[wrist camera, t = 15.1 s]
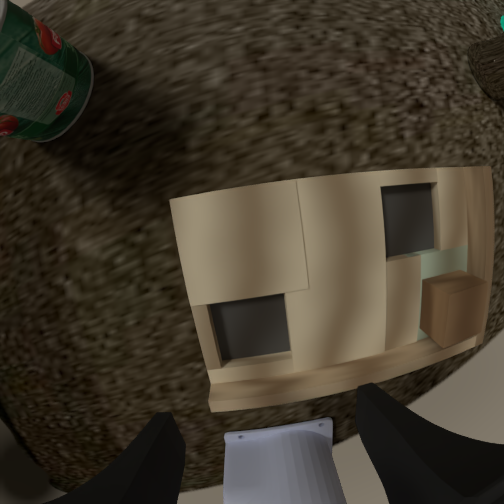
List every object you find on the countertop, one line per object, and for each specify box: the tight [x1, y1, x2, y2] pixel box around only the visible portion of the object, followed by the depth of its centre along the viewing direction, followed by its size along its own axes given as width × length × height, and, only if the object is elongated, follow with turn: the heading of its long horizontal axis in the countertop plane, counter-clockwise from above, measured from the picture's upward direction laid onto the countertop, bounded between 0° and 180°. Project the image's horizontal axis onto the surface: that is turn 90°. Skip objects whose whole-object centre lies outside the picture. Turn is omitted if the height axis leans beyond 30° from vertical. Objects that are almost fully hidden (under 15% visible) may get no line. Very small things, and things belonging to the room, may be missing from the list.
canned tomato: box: [0, 0, 94, 142], centre depth 11 cm, size 8×8×11 cm
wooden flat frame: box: [170, 166, 494, 412], centre depth 18 cm, size 22×14×3 cm, turn 99°
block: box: [419, 270, 488, 348], centre depth 17 cm, size 4×4×4 cm
